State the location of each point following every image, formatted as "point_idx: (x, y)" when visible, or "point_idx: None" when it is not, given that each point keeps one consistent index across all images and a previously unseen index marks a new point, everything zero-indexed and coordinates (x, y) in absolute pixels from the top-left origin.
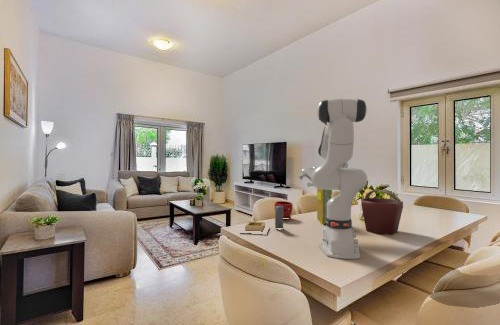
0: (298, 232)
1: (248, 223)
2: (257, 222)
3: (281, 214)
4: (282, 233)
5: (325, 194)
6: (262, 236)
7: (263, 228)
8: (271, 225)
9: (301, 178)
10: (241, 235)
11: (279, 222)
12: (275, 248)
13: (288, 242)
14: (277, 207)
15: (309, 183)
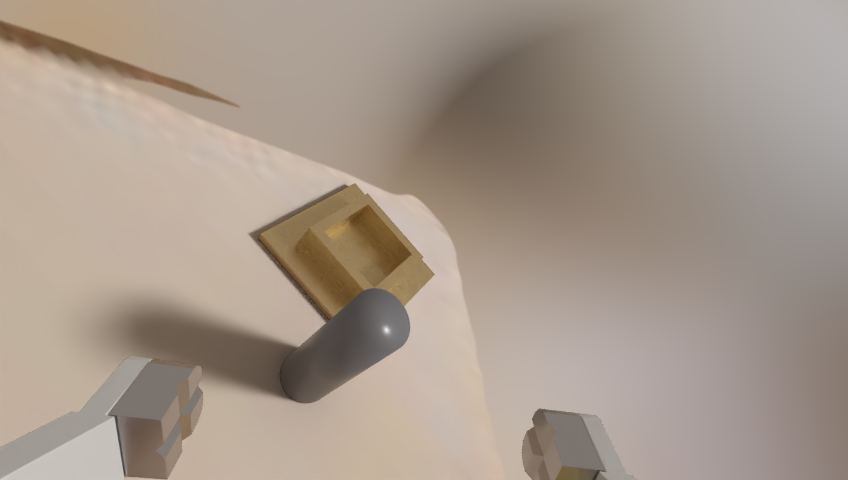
0: None
1: (394, 231)
2: (391, 272)
3: (325, 332)
4: (222, 321)
5: None
6: (255, 210)
7: (323, 261)
8: (394, 398)
9: (538, 471)
10: (325, 173)
11: (306, 340)
12: (55, 101)
13: (56, 206)
14: (367, 289)
15: (127, 392)
